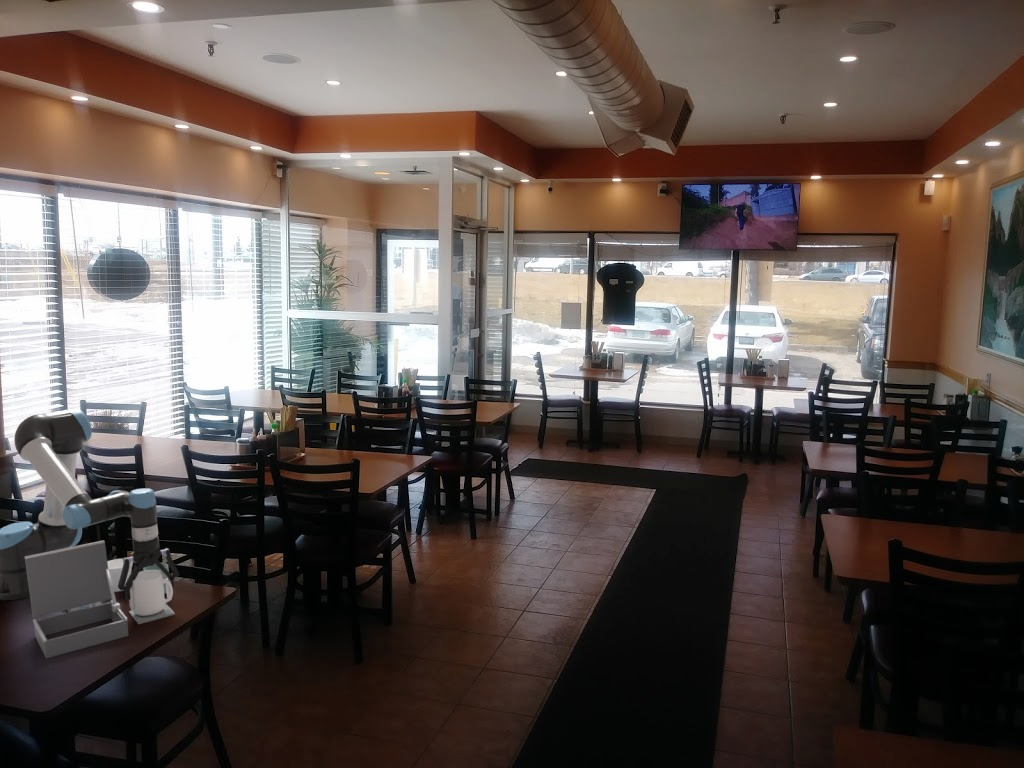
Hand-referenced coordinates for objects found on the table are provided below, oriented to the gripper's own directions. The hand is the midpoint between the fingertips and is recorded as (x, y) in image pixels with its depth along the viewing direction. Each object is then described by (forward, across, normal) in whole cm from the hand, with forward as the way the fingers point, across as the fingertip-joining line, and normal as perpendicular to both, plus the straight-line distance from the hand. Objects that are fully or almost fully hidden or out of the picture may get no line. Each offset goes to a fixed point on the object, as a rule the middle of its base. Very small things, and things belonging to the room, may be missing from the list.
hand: (151, 603), depth 261 cm
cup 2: (+4, +6, +15) cm, 16 cm away
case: (+3, -21, -3) cm, 22 cm away
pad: (+3, 0, 0) cm, 3 cm away
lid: (-12, -21, +8) cm, 25 cm away
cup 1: (+4, -3, +29) cm, 29 cm away
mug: (+2, +1, 0) cm, 2 cm away
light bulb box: (+4, -17, +17) cm, 24 cm away
